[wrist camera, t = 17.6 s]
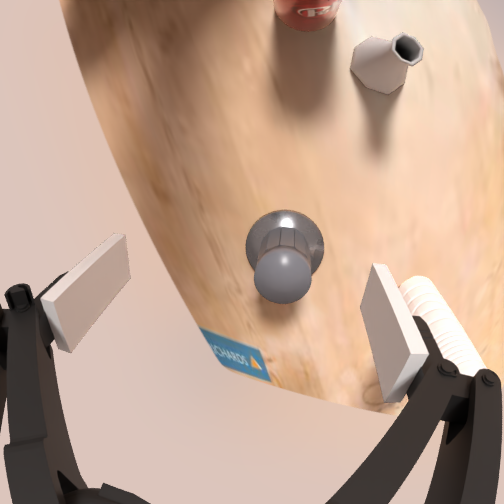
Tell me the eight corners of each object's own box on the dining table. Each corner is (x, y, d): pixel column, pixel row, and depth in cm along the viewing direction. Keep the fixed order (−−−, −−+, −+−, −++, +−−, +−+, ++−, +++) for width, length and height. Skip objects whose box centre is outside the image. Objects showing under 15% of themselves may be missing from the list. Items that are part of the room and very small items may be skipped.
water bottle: (399, 319, 43) (450, 460, 20) (389, 286, 41) (450, 434, 18) (448, 296, 40) (523, 421, 17) (441, 261, 38) (534, 387, 15)
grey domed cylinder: (253, 236, 39) (244, 264, 32) (297, 219, 38) (299, 244, 31) (272, 276, 41) (267, 310, 34) (315, 261, 40) (319, 293, 32)
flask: (389, 105, 31) (422, 101, 22) (339, 70, 30) (356, 53, 21) (416, 62, 28) (453, 48, 19) (367, 27, 27) (390, 0, 18)
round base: (233, 227, 40) (223, 245, 34) (306, 197, 37) (308, 211, 32) (265, 290, 43) (261, 315, 38) (334, 266, 40) (339, 289, 35)
